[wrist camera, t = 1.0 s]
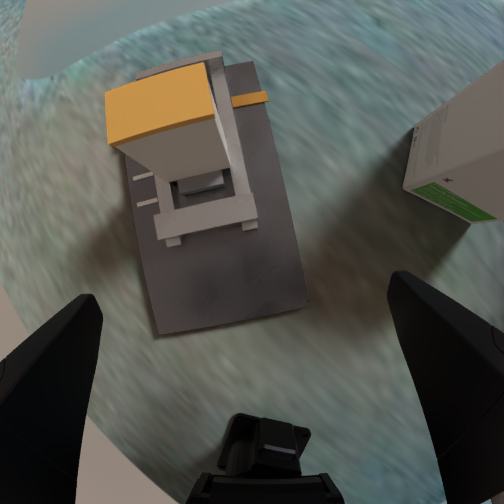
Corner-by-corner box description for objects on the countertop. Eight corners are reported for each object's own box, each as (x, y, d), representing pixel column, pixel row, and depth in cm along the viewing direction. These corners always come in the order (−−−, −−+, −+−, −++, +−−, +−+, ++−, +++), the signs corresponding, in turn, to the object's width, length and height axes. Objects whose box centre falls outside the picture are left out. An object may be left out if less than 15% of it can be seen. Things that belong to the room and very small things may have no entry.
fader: (235, 183, 21) (218, 134, 11) (172, 198, 22) (110, 164, 11) (223, 126, 21) (200, 46, 11) (163, 141, 21) (104, 76, 11)
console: (310, 302, 23) (320, 312, 19) (160, 331, 23) (144, 344, 20) (256, 68, 23) (256, 43, 19) (121, 102, 23) (104, 84, 19)
